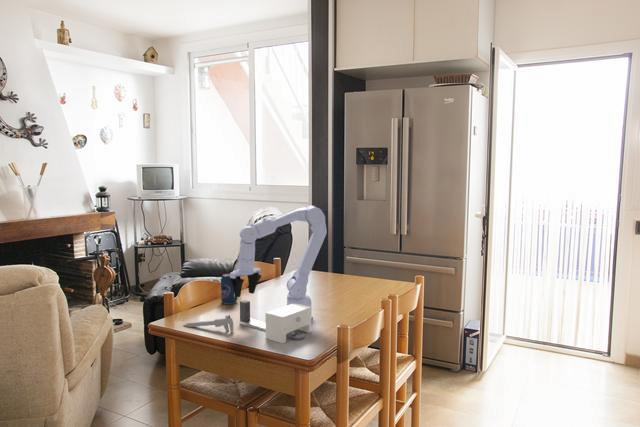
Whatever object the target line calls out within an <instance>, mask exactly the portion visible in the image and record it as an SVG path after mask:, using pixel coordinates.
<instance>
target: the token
mask: <svg viewBox="0 0 640 427" xmlns="http://www.w3.org/2000/svg"><path fill="white" fill-rule="evenodd" d="M289 334H290V339H291V340H294V341H302V340H304V339H306V332H304V331H301V330H294V331H291V332H290V333H289Z"/></svg>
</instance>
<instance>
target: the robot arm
mask: <svg viewBox="0 0 640 427" xmlns="http://www.w3.org/2000/svg"><path fill="white" fill-rule="evenodd" d="M296 221H297V222H298V221H299V222H303V223H304V222H307V224H308V225H309V227H310V229H311V231H312V233H311V234H310V235H311V236H310V237H309V240H308V243H307V245H306V247H305V249H304V252H303V254H302V256H301V259H300V262H299V264H298V265H297V268H296V270H295V271H294V272H293V274H292V276H291V277H290V278H288V280H287V282H286V288H287V291H289V292H288V294H287V295H286V306H287V305H290V304H293V303H297V304H301V305H305V306H309V307H312V299H311V297H310V296H309V295H308V294H307V291H308V290H307V286H308V283H309V278H310V277H309V275H310V274H311V271H312V269H313V267H314V264H315V261H316V260H317V257H318V255H319V252H320V250H321V248H322V245H323V243H324V240H325V238H326V236H327V233H328V232H327V231H328V230H327V224H326V223H327V222H326V215H325V214H324V212H323V210H322V209H321V208H319V207H316V206H315V205H311V204H310V205H307V206H305V207H300V208H297V209H294V210H292V211H290V212H288V213H285V214H283V215H281V216H279V217H277V218H274V219H272V218H270V217H263V218H262V219H261V220H260V221H257V222H255V223H253V222H252V223H250V225H245V226H243V227H242V228H241V229H240V232H239V237H240V241H239V244H240V245H239V251H238V252H239V254H238V267H237V268H236V270H234V271H231V272H230V281H231V283H232V286H233V289H234V294H235V296H236V297H238V298H240V297H241V296H242V295H241V294H242V287H243V284H244V281H245V278H242V277H247V281H248V282H247V283H248V293H249V294H255V293H256V292H255V291H256V287H257V285H258V282H260V280H261V279H262V274H261V270H262V269H261V268H259V267H255V256H256V255H255V254H256V241H257V239H262V238H263V237H266V236H268V235H271V234H274V233H275V232H276V230H277V228H279V227H281V226H285V225H288V224H290V223H294V222H296ZM313 318H314V316H312V315H311V319H313Z"/></svg>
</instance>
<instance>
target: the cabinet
mask: <svg viewBox="0 0 640 427" xmlns="http://www.w3.org/2000/svg"><path fill="white" fill-rule="evenodd" d="M311 316H312V306H311V307H309V306H305V305H301V304H297V303H293V304H290V305H287V304H286V305H284V306H281V307H278V308H274V309H272V310H269V311H267V312H265V322H266V331H265V339H267V340H271V341H273V342H277V343H280V344H285V343H286V342H287V334H290V333H292V332H295V331H301V332H304V333H308V334H309V333H312V318H311Z"/></svg>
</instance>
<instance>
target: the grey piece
mask: <svg viewBox="0 0 640 427" xmlns="http://www.w3.org/2000/svg"><path fill="white" fill-rule="evenodd" d="M239 323H240V325H243V326H246V327H249V328H253V329H255V330H259V331H263V332H266V321H262V320H258V319H254V318H251V301H250V300H249V301H248V300H246V299H244V300H240V301H239Z"/></svg>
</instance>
